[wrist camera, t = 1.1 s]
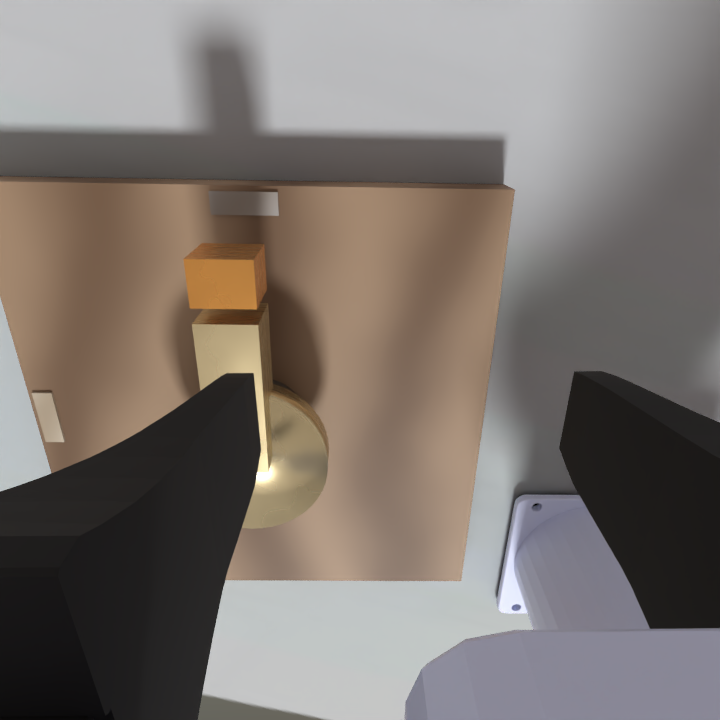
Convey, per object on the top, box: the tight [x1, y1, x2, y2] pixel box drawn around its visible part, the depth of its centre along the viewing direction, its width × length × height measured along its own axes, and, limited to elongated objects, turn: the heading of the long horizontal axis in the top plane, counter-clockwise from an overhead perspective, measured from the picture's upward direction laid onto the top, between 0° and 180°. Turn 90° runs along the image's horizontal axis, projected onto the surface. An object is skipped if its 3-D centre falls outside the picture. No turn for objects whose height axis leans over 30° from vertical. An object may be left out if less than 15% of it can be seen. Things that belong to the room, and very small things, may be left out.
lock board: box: [0, 176, 515, 581], centre depth 22 cm, size 19×19×4 cm
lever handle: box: [183, 243, 329, 529], centre depth 18 cm, size 11×6×2 cm, turn 179°
